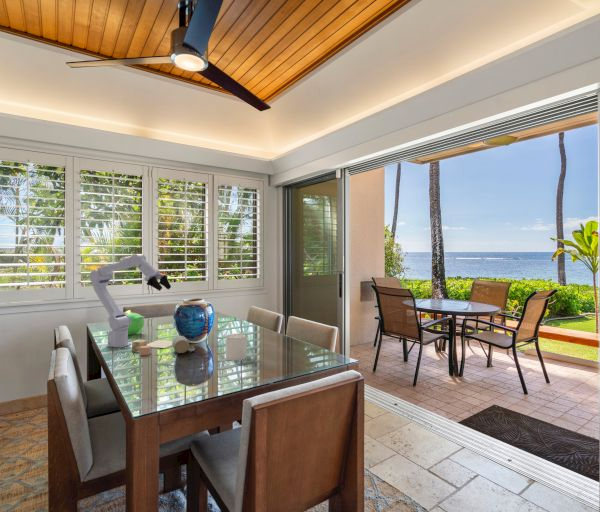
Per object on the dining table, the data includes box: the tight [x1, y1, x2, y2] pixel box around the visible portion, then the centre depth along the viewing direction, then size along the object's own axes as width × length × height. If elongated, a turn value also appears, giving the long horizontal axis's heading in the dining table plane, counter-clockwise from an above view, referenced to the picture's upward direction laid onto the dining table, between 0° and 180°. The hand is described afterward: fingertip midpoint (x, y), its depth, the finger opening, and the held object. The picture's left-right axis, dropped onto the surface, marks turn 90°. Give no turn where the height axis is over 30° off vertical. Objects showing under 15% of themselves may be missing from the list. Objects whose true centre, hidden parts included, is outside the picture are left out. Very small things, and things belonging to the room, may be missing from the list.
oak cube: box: [131, 339, 148, 353], centre depth 188 cm, size 5×5×5 cm
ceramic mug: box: [171, 335, 195, 354], centre depth 186 cm, size 11×8×8 cm
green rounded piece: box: [124, 309, 146, 336], centre depth 222 cm, size 18×17×15 cm
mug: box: [225, 333, 248, 362], centre depth 178 cm, size 14×10×11 cm
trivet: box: [147, 339, 173, 350], centre depth 200 cm, size 14×14×1 cm
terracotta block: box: [139, 346, 152, 357], centre depth 180 cm, size 4×4×4 cm
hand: (165, 288), depth 190 cm, fingers open, 7 cm apart
